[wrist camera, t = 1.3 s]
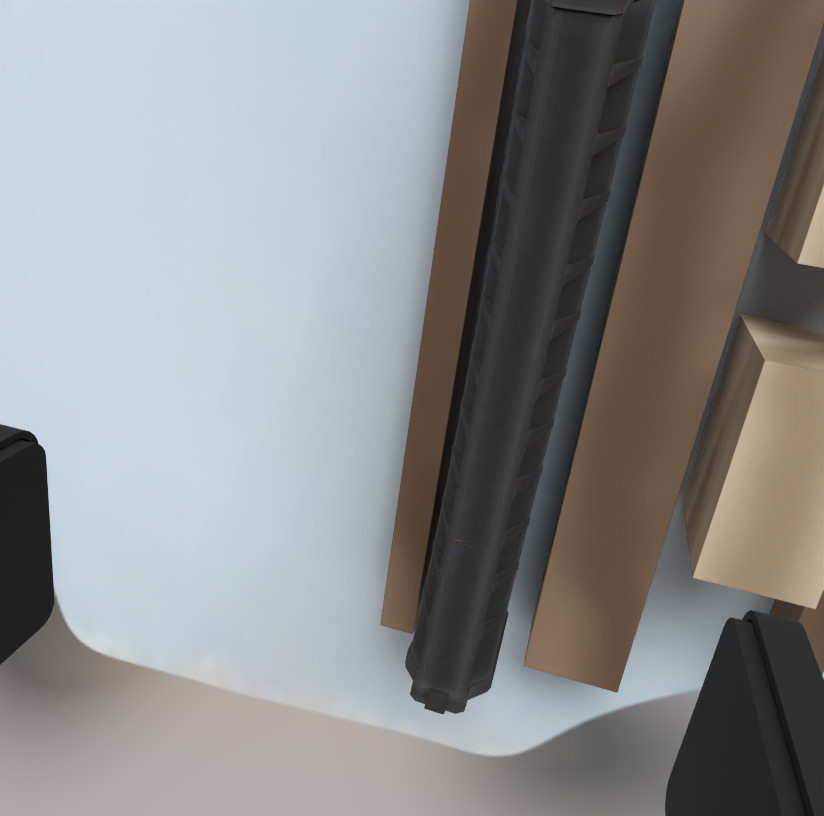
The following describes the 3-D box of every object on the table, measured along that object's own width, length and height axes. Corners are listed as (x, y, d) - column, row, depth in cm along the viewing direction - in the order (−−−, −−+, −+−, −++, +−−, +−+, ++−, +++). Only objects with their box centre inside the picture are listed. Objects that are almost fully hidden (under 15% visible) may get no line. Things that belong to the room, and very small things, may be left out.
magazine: (463, 798, 29) (730, -275, 9) (381, 770, 29) (473, -292, 10) (538, 487, 41) (716, -235, 22) (480, 473, 42) (604, -243, 23)
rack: (1149, -199, 21) (1226, -244, 18) (779, 691, 34) (792, 742, 31) (523, -237, 24) (510, -281, 22) (398, 587, 37) (380, 624, 34)
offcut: (853, 334, 28) (907, 388, 22) (783, 522, 31) (815, 609, 26) (739, 313, 29) (765, 360, 23) (682, 498, 32) (692, 578, 26)
